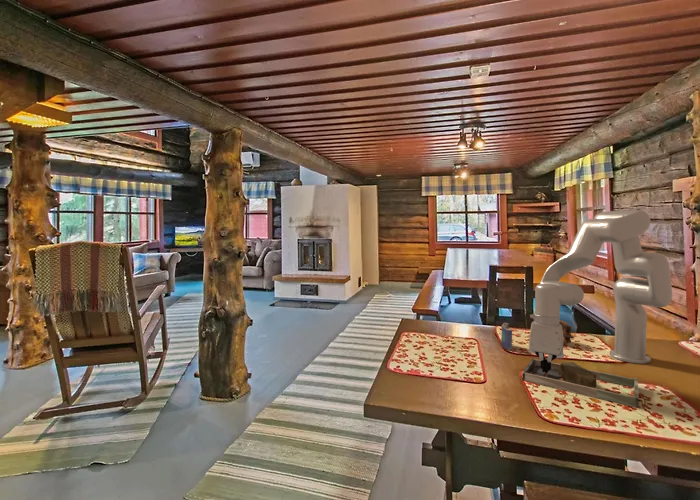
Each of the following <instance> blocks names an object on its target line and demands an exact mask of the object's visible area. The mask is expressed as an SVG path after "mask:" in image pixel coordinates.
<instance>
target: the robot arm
mask: <svg viewBox="0 0 700 500" xmlns="http://www.w3.org/2000/svg"><path fill="white" fill-rule="evenodd" d="M650 225H651V217H650V215H649V214H648V213H647V212H646V211H644V210H642V209H641V210H638V209H636V210H635V209H634V210H632V209H631V210H630V209H629V210H612V211H611V210H609V211H602V212H598V213H596V214H595V215H594V217H593V218H591V219H587V220H585V221H583V222H582V223H581V224H580V226H579V228H578V231H577V232H576V234H575V235H574V238H573V240H572V243H571V245H570V247H569V248H568V251H567V253H566V254H565V255H562V256H561V257H560V258H559V259H557V260H556V261H555V262H553V263H552V264H551V265H549V266H548V268H547V269H546V270H545V272H544V274H543V275H542V278H541V280H540V282H539V283H538V284H537V285H536V286H535V289H534V290H535V291H534V292H535V294H534V313H532V314H530V315H529V317H530V318H529V319H533V321H532V322H531V324H530V329H529V330H530V332H529V341H528V352H529V353H531V354H535V355H536V356H537V357H538V358H539V359H538V360H541V369H542V372H546V373H545V374H547V373H548V371H549V370H551V362H553V361H554V360H556V359H564V357H565V353H564V341H563V330H562V325H561V324H559V322H560V320H561V319H560V316H561V315H560V314H561V312H560V311H561V309H560V308H561V306H562V305H563V306H564V305H565V306H575V305H578V304H580V303H581V302H582V301H583V300H584V297H585V292H584V289H582V287H581V286H579V285H577V284H574V283H570V282H564V281H560V280H561V278H563V277H564V276H565V275H567V274H568V273H570V272H573V271H575V270H579V269H582V268H585V267H589V266H590V265H593V263H594V262H595V260H596V259H597V256H598V253H599V252H600V249H601V248H602V245H603V244H605V243H611V246H612V253H613V260H614V261H613V262H614V265H615V266H614V267H615V270H616V272H617V273H618V274H619V275H622V276H625V277H623V278H619V279H617V280H616V281H615V282H614V284H613V288H612V289H613V296H614V302H615V324H614V325H615V326H614V349H611V350H610V351H609V356H610V357H611V358H614V359H616V360H620V361H622V362H626V363H631V364H641V365H642V364H645V365H646V364H649V363H651V361H652V359H651V357H650V356H649V355H647V354H646V353H647V351H646V349H647V328H648V327H647V326H648V325H647V324H648V315H647V311H646V309H645V308H644V306H649V307H652V308H653V307H655V308H665V307H667V306H669V305H670V303H671V302H672V300H673V286H672V277H671V275H672V274H671V268H670V262H669V260H668V259H667V258H666V256H665V255H663V254H661V253H660V252H659V253H658V252H649V251H647V252H645V251H644V250H643V249H642V245H641V238H640V235H642V234H644V233H645V232H647V230H648V229H649V227H650ZM626 276H627V277H626ZM545 354H546V355H547V358H546V356H545Z"/></svg>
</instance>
